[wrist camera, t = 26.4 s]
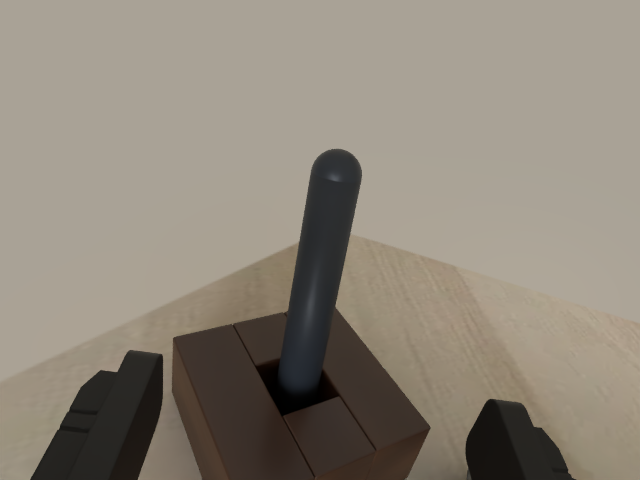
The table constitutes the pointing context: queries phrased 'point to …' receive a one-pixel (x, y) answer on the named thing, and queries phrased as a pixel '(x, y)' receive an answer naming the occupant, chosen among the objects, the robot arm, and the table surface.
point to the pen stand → (297, 427)
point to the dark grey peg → (317, 277)
